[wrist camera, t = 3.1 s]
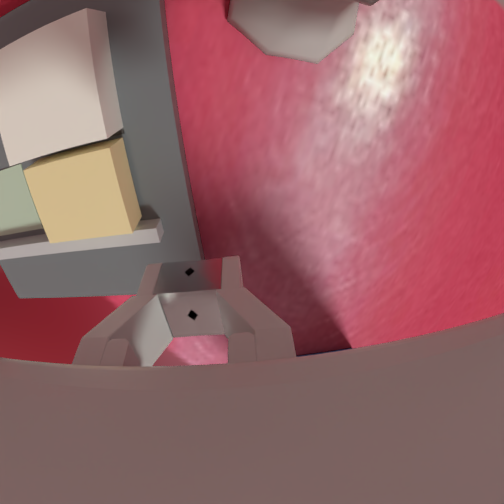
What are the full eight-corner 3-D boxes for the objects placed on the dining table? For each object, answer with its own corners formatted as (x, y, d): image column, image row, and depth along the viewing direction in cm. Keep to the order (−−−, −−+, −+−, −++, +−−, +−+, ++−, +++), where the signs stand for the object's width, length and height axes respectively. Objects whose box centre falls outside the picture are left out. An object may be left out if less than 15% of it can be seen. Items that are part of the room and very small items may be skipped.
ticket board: (160, -42, 11) (142, -61, 8) (209, 279, 24) (204, 314, 21) (-51, 60, 12) (-82, 69, 9) (24, 289, 24) (7, 316, 21)
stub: (122, 137, 16) (109, 147, 14) (141, 216, 19) (132, 233, 17) (40, 158, 16) (23, 170, 14) (63, 227, 19) (50, 243, 17)
